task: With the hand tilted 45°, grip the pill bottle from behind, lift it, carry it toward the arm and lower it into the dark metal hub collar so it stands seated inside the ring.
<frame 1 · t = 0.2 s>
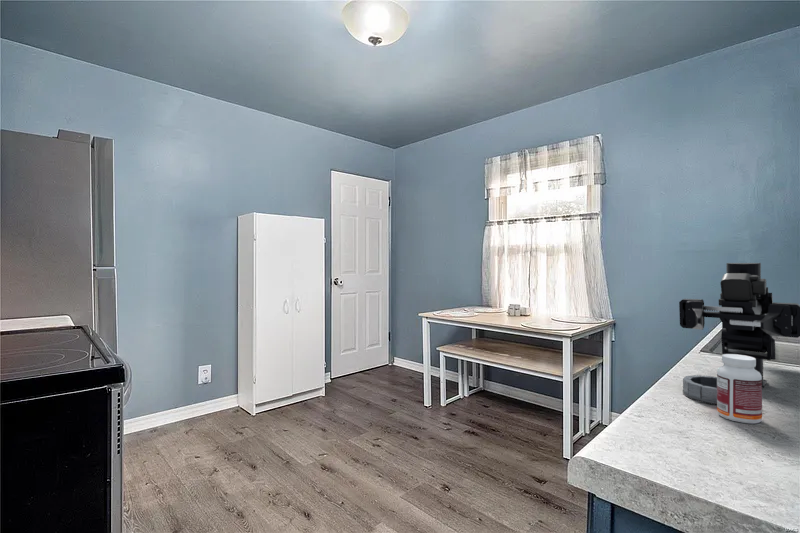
hand: (729, 323, 75), 17 cm above the table, tool horizontal, fingers open, 9 cm apart
pill bottle: (738, 418, 72), on the table
hub collar: (714, 397, 82), on the table
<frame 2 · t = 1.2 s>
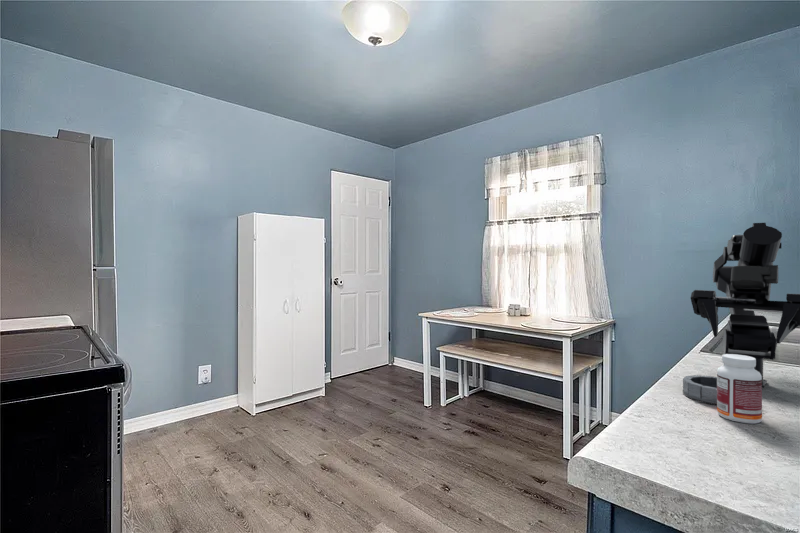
hand: (745, 338, 76), 13 cm above the table, tool tilted 45°, fingers open, 9 cm apart
nothing on the table moved.
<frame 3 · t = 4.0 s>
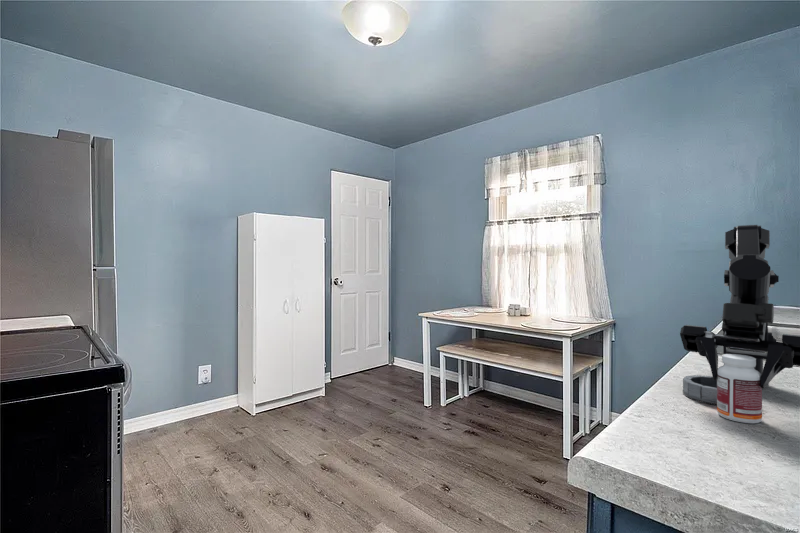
hand: (737, 382, 71), 7 cm above the table, tool tilted 45°, fingers closed on pill bottle, 6 cm apart
pill bottle: (738, 418, 72), on the table, touching gripper
when the fingers open (8 cm above the table, at t = 8.4 s): pill bottle drops 1 cm, resting on hub collar.
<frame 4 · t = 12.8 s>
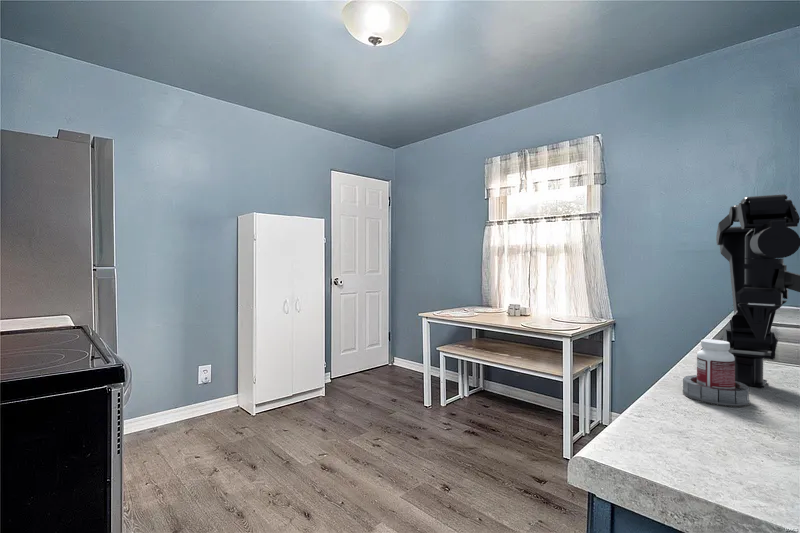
hand: (763, 336, 80), 13 cm above the table, tool pointing down, fingers open, 9 cm apart
pill bottle: (715, 395, 82), resting on hub collar
at the end: pill bottle 0.2 cm off-centre on the hub collar, point 0.4 cm above the hub collar's base; pill bottle tilted 0°; the gripper is holding nothing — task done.
